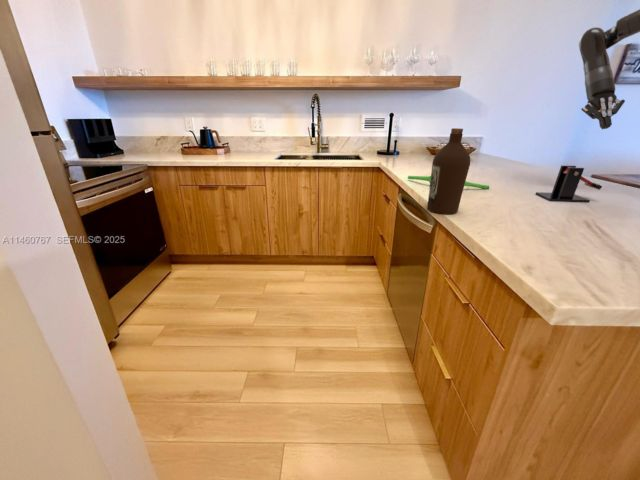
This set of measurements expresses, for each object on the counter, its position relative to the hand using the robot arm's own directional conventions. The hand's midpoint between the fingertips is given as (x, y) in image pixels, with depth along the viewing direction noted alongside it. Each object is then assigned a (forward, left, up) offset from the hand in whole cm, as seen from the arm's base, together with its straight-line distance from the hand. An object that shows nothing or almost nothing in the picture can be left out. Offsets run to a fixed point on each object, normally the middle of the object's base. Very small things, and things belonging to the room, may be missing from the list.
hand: (606, 127), depth 104 cm
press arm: (+11, +11, -17) cm, 23 cm away
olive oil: (+61, +29, -24) cm, 72 cm away
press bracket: (+14, +11, -24) cm, 30 cm away
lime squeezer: (+52, -3, -24) cm, 58 cm away
